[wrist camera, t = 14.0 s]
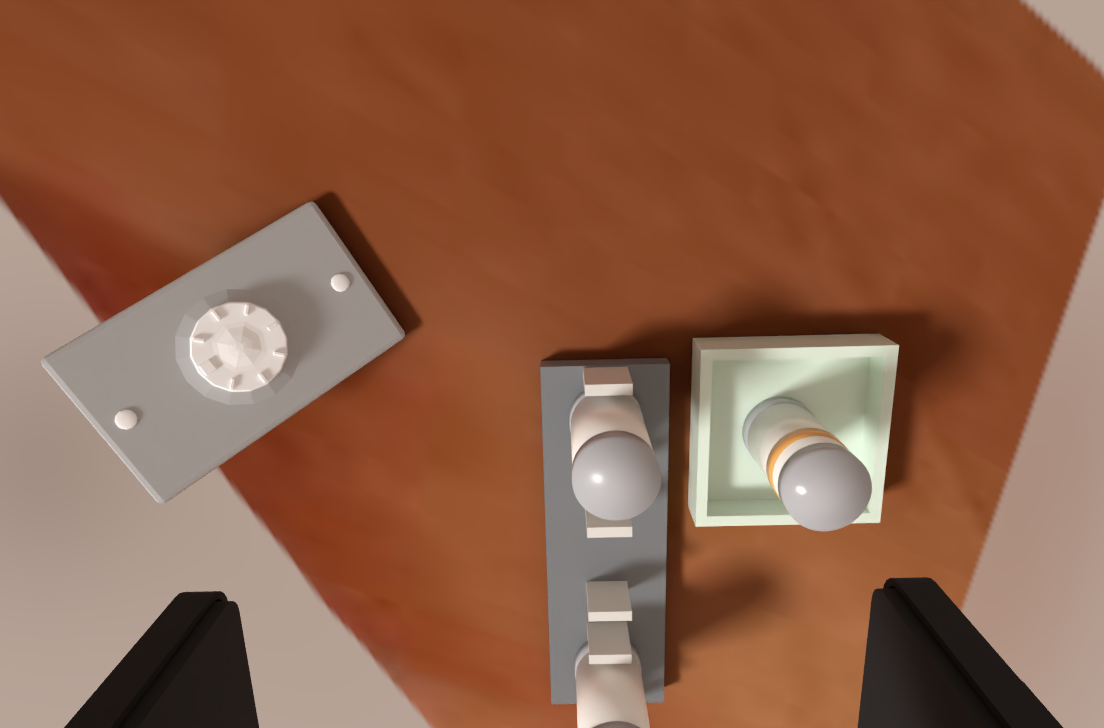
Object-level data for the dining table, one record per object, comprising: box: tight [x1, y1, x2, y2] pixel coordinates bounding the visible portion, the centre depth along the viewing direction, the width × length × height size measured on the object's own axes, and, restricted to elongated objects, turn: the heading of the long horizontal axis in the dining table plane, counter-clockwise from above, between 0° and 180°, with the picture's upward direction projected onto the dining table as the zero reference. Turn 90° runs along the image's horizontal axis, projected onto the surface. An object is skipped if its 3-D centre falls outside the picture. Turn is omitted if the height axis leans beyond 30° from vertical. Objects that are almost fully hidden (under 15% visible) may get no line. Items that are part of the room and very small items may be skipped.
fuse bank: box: [540, 358, 670, 728], centre depth 40 cm, size 22×7×9 cm, turn 2°
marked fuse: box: [742, 397, 872, 531], centre depth 38 cm, size 4×4×8 cm
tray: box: [688, 333, 899, 527], centre depth 41 cm, size 10×10×2 cm
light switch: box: [41, 202, 405, 504], centre depth 38 cm, size 8×6×14 cm
